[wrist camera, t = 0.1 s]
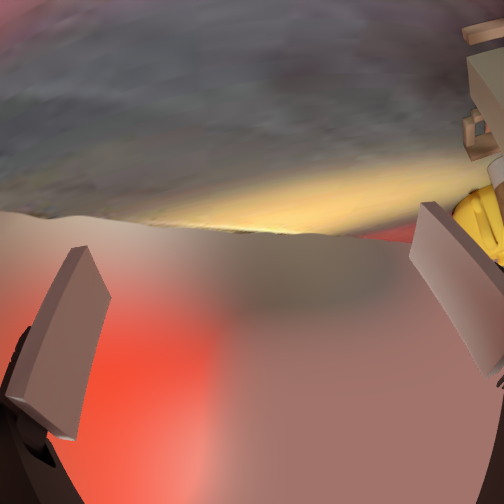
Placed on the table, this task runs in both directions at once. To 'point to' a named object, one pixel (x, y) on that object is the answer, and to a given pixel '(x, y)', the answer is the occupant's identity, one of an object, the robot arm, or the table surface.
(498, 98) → the brick
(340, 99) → the table surface
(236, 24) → the table surface
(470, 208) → the teapot
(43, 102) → the table surface
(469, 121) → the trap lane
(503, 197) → the coffee cup
